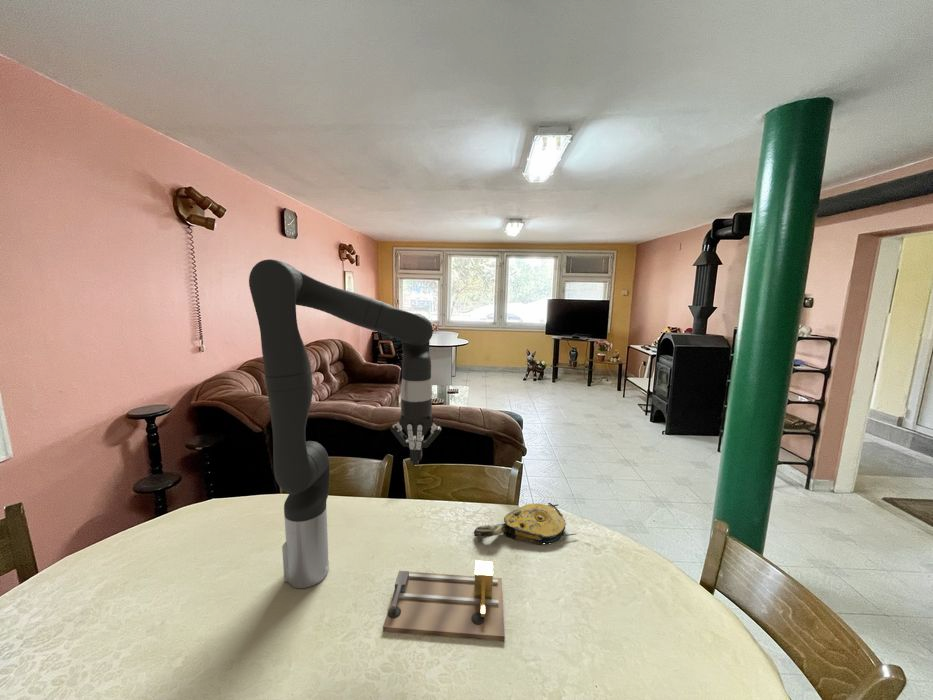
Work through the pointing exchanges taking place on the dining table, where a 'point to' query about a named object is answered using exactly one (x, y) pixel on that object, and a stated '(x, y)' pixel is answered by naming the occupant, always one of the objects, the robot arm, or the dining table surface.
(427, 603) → the gauge board
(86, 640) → the dining table surface
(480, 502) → the dining table surface
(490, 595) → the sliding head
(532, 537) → the pulley block
